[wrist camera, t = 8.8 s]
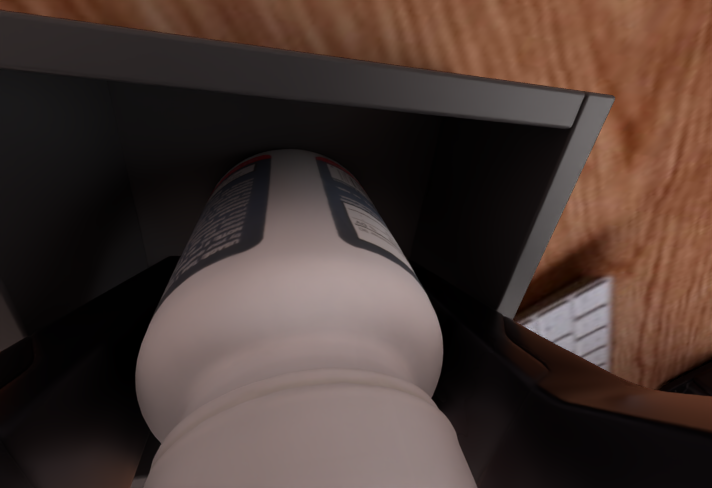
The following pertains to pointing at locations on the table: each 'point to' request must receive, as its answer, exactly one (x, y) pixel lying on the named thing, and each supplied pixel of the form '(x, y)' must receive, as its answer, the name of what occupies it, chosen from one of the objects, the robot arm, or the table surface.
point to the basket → (253, 136)
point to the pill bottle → (295, 344)
